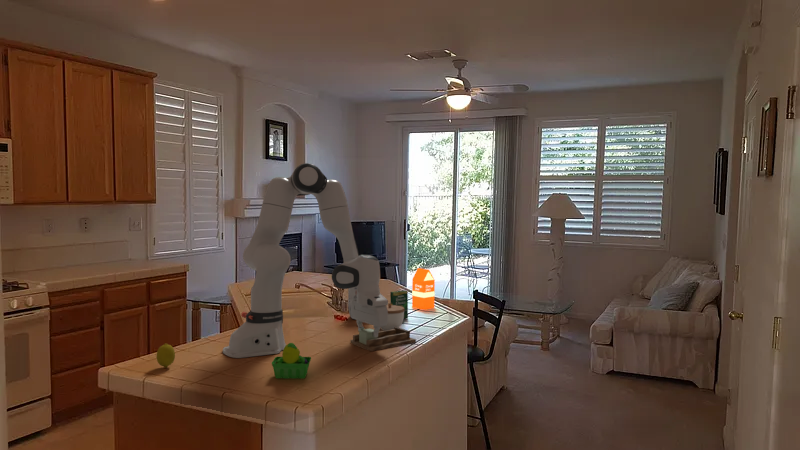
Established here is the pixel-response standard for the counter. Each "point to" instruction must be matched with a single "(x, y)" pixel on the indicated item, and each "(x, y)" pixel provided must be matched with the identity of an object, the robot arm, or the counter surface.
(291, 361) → the fruit basket
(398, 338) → the board
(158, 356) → the lemon
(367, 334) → the block
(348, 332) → the counter surface
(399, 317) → the lidded bowl
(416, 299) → the orange juice
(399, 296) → the coffee box
